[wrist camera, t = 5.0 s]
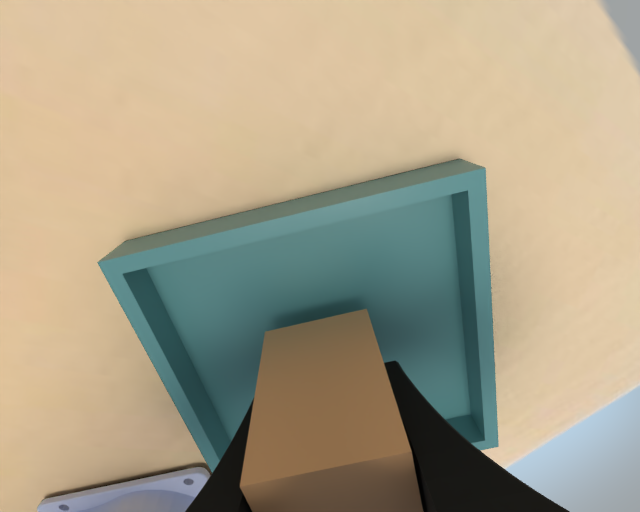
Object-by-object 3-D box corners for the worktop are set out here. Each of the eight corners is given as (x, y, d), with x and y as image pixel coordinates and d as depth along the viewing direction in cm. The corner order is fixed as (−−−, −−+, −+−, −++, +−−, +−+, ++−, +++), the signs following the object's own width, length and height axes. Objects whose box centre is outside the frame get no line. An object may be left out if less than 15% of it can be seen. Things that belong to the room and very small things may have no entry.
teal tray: (234, 463, 19) (227, 501, 17) (124, 241, 14) (97, 262, 12) (478, 412, 18) (498, 446, 17) (459, 158, 13) (485, 167, 11)
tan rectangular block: (292, 406, 15) (286, 578, 10) (265, 331, 14) (239, 486, 8) (383, 386, 15) (430, 551, 9) (366, 308, 13) (411, 451, 8)
